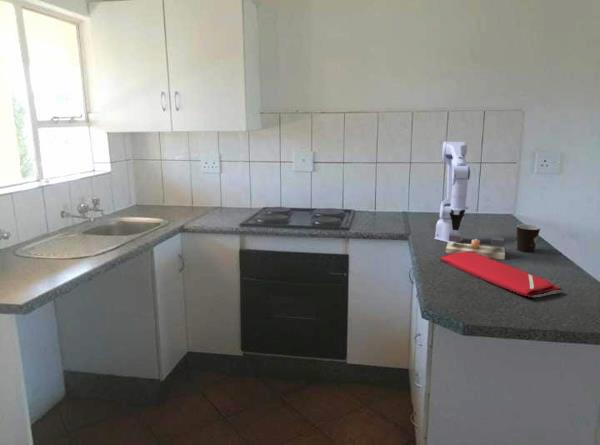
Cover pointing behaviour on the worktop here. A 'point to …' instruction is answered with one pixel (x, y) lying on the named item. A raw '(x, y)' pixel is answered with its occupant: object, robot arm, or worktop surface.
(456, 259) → the dish drying mat
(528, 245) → the coffee mug
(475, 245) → the orange knob
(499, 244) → the button
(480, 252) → the mount board
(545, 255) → the worktop surface
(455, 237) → the button
